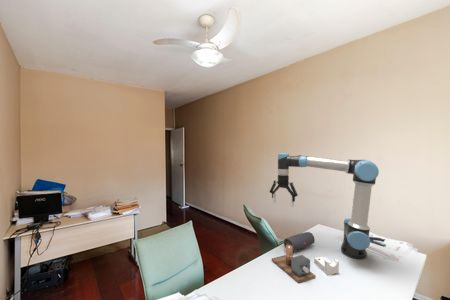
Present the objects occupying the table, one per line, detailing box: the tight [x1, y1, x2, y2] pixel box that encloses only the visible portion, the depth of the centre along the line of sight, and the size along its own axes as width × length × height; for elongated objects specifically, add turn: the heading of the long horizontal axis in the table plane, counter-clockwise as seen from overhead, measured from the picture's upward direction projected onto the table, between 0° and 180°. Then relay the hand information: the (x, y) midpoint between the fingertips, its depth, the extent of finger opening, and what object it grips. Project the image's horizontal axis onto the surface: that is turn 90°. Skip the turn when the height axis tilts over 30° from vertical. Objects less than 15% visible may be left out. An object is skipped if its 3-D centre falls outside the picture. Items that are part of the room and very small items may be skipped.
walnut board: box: [271, 254, 316, 284], centre depth 124 cm, size 24×12×2 cm, turn 23°
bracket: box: [313, 256, 340, 276], centre depth 125 cm, size 13×7×8 cm, turn 9°
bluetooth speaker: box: [283, 231, 316, 252], centre depth 149 cm, size 23×9×10 cm, turn 120°
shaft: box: [285, 245, 311, 273], centre depth 121 cm, size 17×5×10 cm, turn 23°
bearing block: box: [291, 254, 311, 277], centre depth 118 cm, size 6×8×8 cm
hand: (283, 204), depth 149 cm, fingers open, 13 cm apart
